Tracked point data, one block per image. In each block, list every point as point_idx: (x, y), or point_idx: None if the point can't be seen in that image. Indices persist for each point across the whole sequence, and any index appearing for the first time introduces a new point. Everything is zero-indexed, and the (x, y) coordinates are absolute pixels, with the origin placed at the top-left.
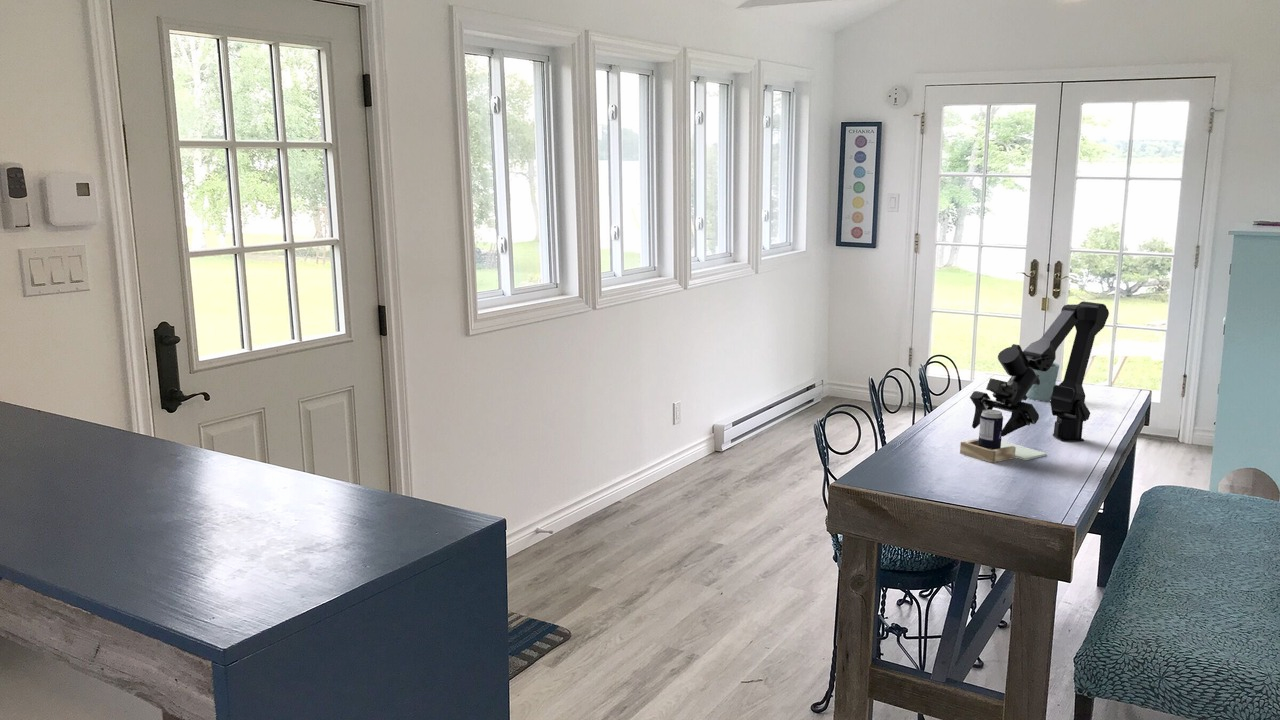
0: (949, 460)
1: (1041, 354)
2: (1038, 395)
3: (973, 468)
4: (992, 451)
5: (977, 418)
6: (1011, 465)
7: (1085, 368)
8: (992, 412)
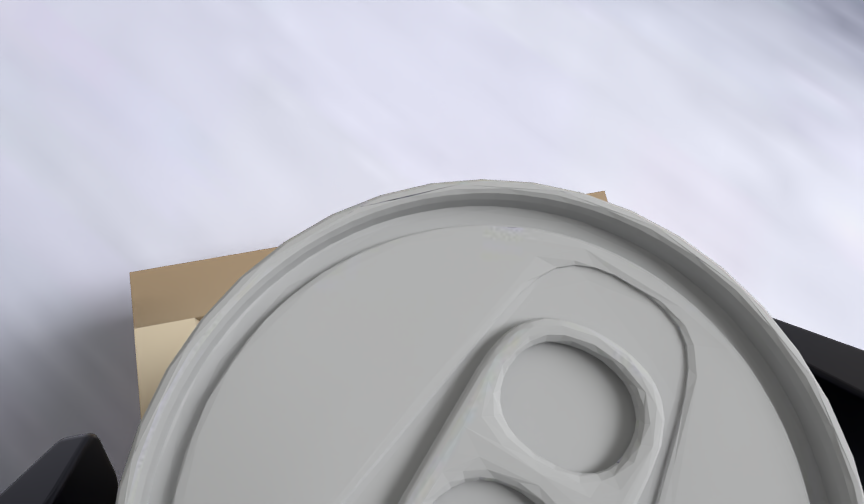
0: (391, 6)
1: None
2: None
3: (115, 36)
4: (139, 279)
5: (850, 417)
6: (9, 449)
7: None
8: (421, 476)
